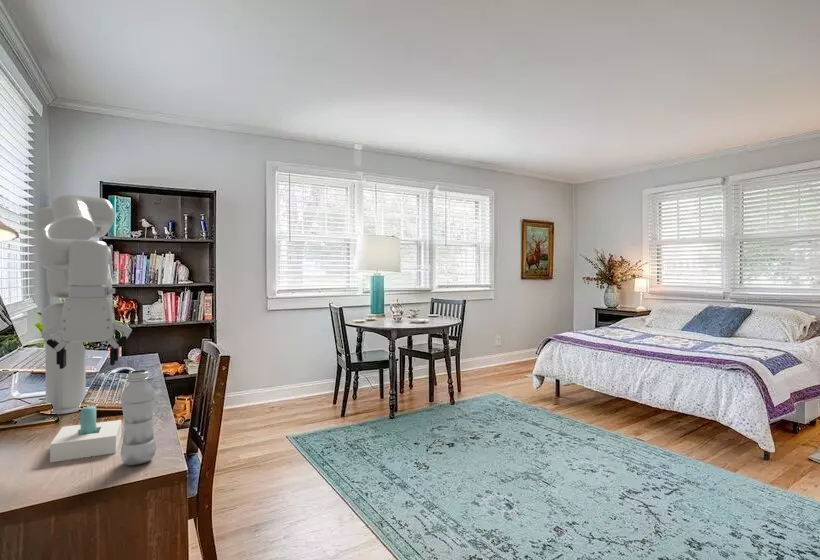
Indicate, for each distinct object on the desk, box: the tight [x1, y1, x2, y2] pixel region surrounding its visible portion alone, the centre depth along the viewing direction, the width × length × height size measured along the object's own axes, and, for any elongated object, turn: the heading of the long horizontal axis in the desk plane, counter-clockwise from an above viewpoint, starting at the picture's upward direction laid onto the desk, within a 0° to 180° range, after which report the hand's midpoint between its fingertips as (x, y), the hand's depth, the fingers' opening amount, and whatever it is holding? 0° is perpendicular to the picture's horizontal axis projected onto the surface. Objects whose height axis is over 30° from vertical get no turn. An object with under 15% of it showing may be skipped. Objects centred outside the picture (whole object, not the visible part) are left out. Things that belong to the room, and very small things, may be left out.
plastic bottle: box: [120, 369, 157, 466], centre depth 98 cm, size 6×7×20 cm
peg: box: [80, 405, 97, 435], centre depth 106 cm, size 3×3×10 cm
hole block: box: [49, 419, 123, 463], centre depth 106 cm, size 12×12×4 cm
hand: (88, 365), depth 106 cm, fingers open, 9 cm apart
